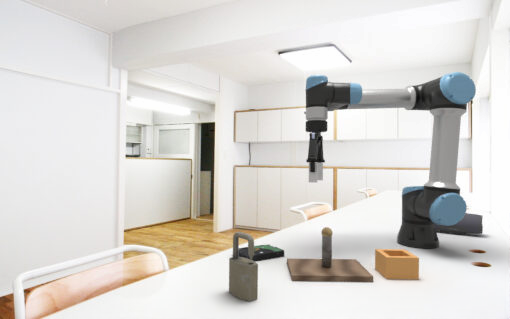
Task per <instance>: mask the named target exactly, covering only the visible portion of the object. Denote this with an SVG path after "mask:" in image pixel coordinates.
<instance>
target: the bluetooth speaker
mask: <svg viewBox="0 0 510 319" xmlns="http://www.w3.org/2000/svg"><path fill="white" fill-rule="evenodd" d="M483 227H484V226H483V215H481V214H475V213H468V212H466V213H465V216H464V217H463V219H462V220H461V221H459V222H458V223H457V224H454V225H450V226H445V225H438V224H436V223H434V228H435V230H436V231H439V233H442V232H444V233H443V234H450V233H452V235H461V236H466V235H467V234H471V235H473V234H476V235H483V229H484V228H483Z"/></svg>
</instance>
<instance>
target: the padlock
mask: <svg viewBox="0 0 510 319" xmlns="http://www.w3.org/2000/svg"><path fill="white" fill-rule="evenodd" d="M239 238H240V239H242V240H245V241H247V247H248V255H249V258H250V259H247V258H244V257H238V254H239V248H240V247H239V244H240V243H239V241H240V240H239ZM254 246H255V238H254V237H253V236H252V235H251V234H249V233H245V232H242V231H236V232H235V233H234V234H233V237H232V257H229V258H228V259H229V260H228V261H229V262H228V266H229V267H228V291H229V293H230V294H231V295H232V296H234V297H236V298H237V299H240V300H243V301H246V302H251V301H255V300H258V292H259V291H258V290H259V289H258V285H259V284H258V282H259V281H258V280H259V278H258V277H259V275H258V274H259V273H258V272H259V264H258V262H257V261H256V262H255V261H253V260H252V258H253V255H254Z"/></svg>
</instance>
